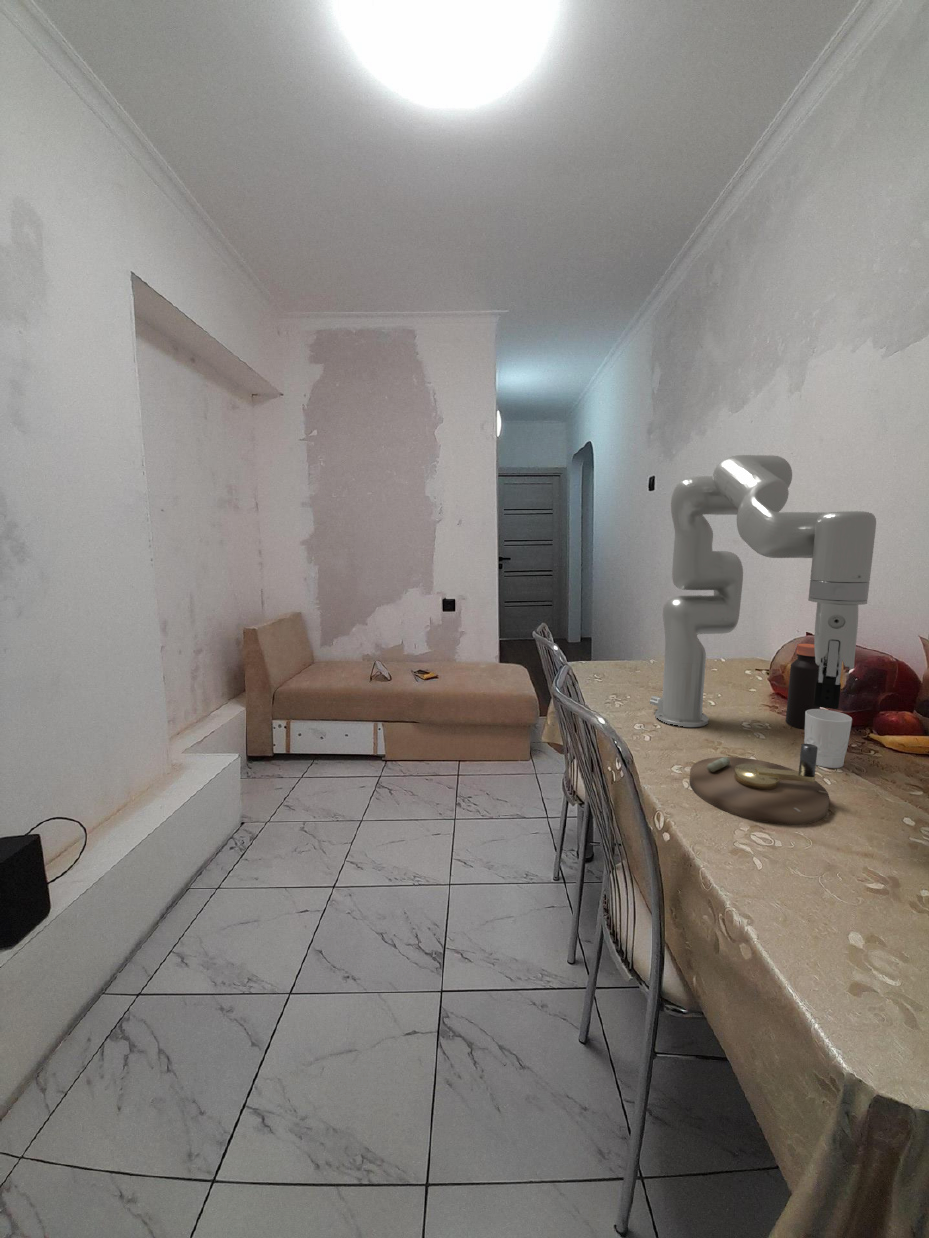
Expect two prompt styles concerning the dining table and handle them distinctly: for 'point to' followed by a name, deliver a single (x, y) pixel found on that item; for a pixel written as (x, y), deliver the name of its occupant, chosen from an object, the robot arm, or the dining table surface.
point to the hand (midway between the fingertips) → (825, 706)
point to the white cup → (828, 735)
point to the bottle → (802, 686)
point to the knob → (778, 771)
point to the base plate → (758, 793)
